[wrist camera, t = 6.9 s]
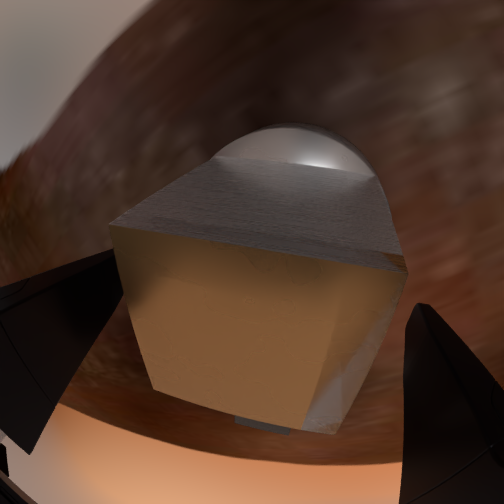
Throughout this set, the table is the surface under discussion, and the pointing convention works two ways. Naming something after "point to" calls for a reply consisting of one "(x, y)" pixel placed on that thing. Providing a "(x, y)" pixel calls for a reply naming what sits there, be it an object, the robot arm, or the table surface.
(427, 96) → the table surface
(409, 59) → the table surface
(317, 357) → the grey brown boxy block
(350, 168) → the ratchet
